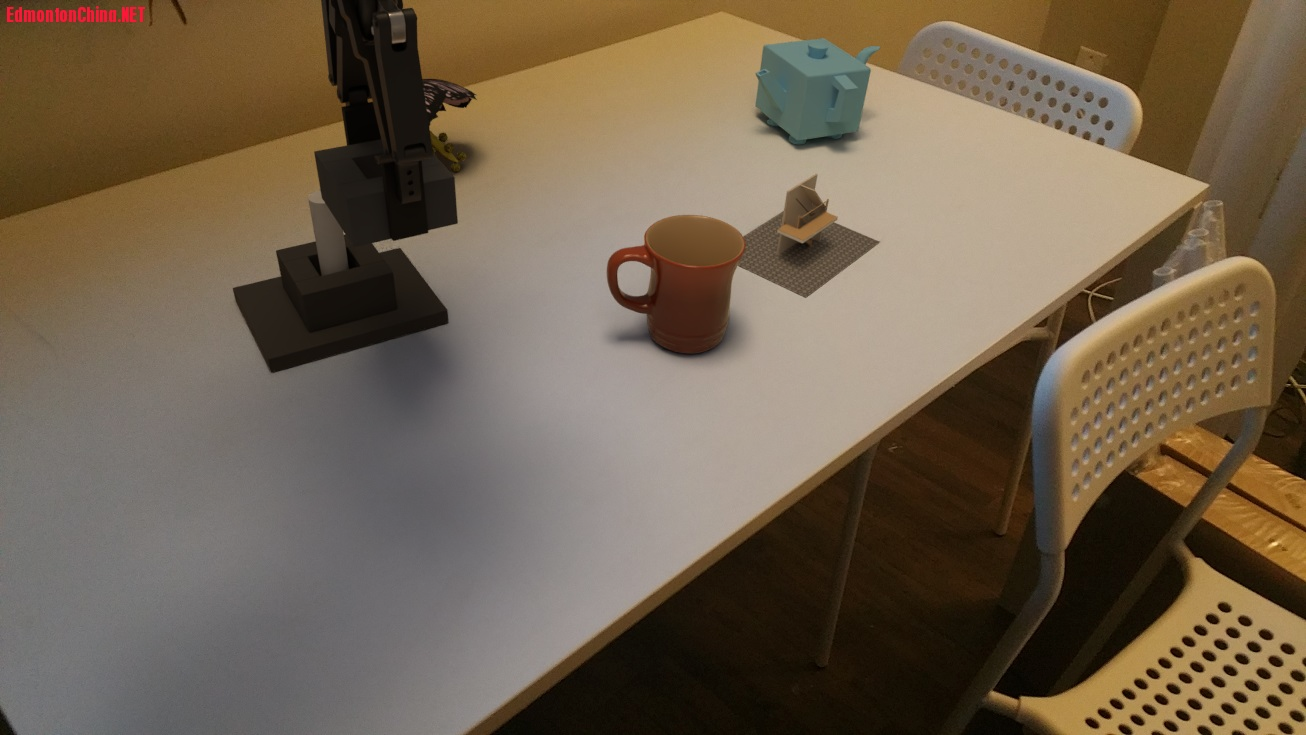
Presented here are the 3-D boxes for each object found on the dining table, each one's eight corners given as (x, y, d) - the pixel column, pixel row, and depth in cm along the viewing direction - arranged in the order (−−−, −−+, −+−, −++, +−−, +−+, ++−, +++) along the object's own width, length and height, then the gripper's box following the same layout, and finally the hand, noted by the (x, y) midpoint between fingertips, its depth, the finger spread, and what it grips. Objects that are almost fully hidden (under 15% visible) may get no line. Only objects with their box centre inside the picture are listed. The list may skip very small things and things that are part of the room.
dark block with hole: (309, 333, 86) (301, 295, 83) (283, 287, 91) (275, 250, 88) (397, 309, 89) (393, 272, 87) (367, 266, 94) (362, 230, 92)
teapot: (720, 113, 131) (729, 28, 124) (833, 97, 137) (848, 16, 130) (781, 165, 120) (795, 75, 113) (901, 145, 126) (921, 59, 119)
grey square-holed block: (354, 247, 71) (346, 198, 69) (321, 198, 76) (313, 151, 74) (458, 223, 75) (454, 176, 72) (420, 178, 80) (416, 132, 77)
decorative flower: (399, 49, 116) (480, 47, 106) (445, 134, 123) (525, 140, 113) (308, 118, 109) (385, 122, 99) (362, 203, 116) (440, 216, 107)
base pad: (271, 373, 83) (243, 252, 76) (235, 301, 91) (207, 184, 84) (448, 323, 90) (439, 207, 83) (401, 260, 98) (389, 149, 91)
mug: (718, 305, 95) (730, 211, 89) (743, 360, 89) (758, 263, 82) (596, 313, 93) (599, 218, 87) (612, 371, 86) (617, 272, 80)
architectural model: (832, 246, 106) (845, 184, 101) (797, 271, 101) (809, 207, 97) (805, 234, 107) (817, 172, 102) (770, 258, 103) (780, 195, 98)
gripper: (472, -75, 56) (489, 263, 70) (356, -153, 70) (390, 143, 84) (341, -63, 53) (387, 288, 67) (247, -148, 67) (301, 159, 81)
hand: (389, 207), depth 75 cm, fingers closed on grey square-holed block, 8 cm apart
